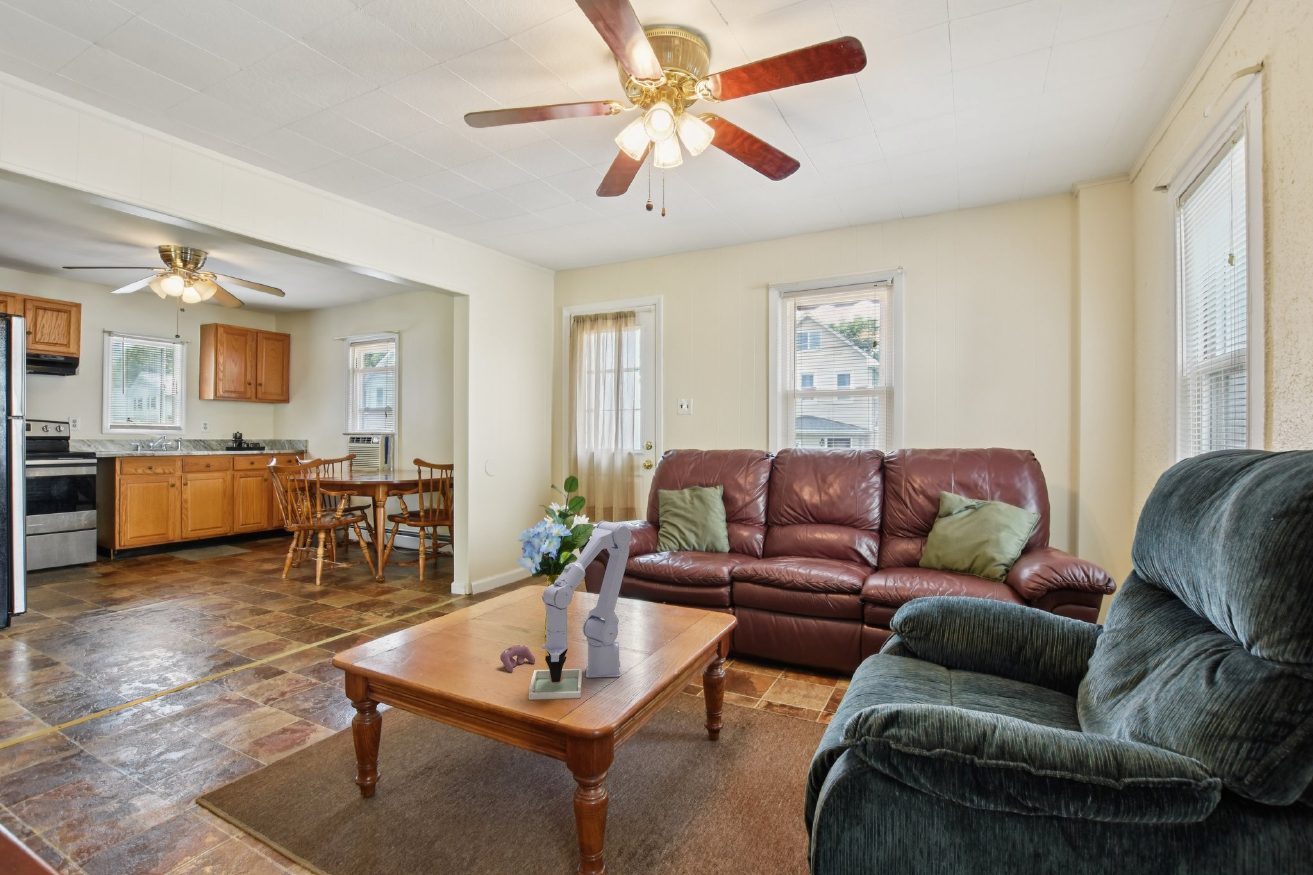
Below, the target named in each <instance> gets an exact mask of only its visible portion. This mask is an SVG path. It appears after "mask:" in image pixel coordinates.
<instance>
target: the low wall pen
mask: <svg viewBox="0 0 1313 875" xmlns="http://www.w3.org/2000/svg"><path fill="white" fill-rule="evenodd" d="M562 671H563V673H564V678H578V685H577V691H567V692H537V693H534V692H535V688H536V684H537V680H538V679H549V674H550V670H549V669H536V670H535V669H534V670H533V673H532V677H531V680H530V683H529V688H528V700H530V701H531V700H532V701H533V700H535V701H536V700H559V699H561V700H562V699H581V698H582V696H581V695H582V681H583V680H582V679H583V668H566V669H565V668H564V669H563V668H562Z"/></svg>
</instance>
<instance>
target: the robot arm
mask: <svg viewBox="0 0 1313 875" xmlns="http://www.w3.org/2000/svg"><path fill="white" fill-rule="evenodd" d="M591 532H592V533H591V537H590V539H589V541H588V542H587V544H586V545H585V546H584V548H583V550H582V551H581V552H580V554H579V556H578V558H577V559H576V560H575V561H573V562H569V563H568V564H566V565H565V566H564V567H563V568H564V569H563V570H562V572H561V573H560V575H559V576H558V577H557V579H555V580H554V582H553V583H551V585H548V586H547V587H546V588H545V589H544V591H543V594H542V595H541V599H542V602H543V603H544V605H545V611H546V614H545V615H546V617H545V619H546V623H545V624H546V625H545V626H546V627H545V629H546V631H545V633H546V636H545V638H546V640H545V641H546V642H545V643H544V644H543V643H542V645H541V649H542V650H546V652H547V654H548V655H545V658H544V659H545V663H546V664H547V666H548V670H550V675H551V680H552V682H560V679H561V673H562V669H563V667H564V664H565V663H566V660H567V656H566V655H567V652H568V648H569V644H568V606H569V605H571V603H572V601H573V597H574V596H573V595H574V594H575V593H574V592H575V590H576V588H578V586H579V584H580V583H581V582H582V581H583V580H584V578H585V577H586V569H587V567H588V566H589V565H590V564H591V563H592V562H593V560H594V559H595V558H596V557H597V556H598V555H599V553H600V552H602V550H605V549H606V550H607V552H608V554H609V558H608V561H607V565H606V568H605V573H604V577H603V580H602V584H601V587H600V590H599V595H598V599H597V603H596V606H595V607H593V608H592V609H591V610H590V611H589V612H588V615H587V618H586V619H585V620H584V623H583V625H582V633H583V635H584V637H586V641H587V665H586V668H585V669H586V673H585V677H586V679H587V678H615V677H616V678H618V677H620V668H621V661H620V642H619V641H616V640H617V638H618V635H619V627H618V626H619V621H620V620H619V617H618V616H617V614H616V612H615V610H616V605H617V602H618V598H619V593H620V591H621V586H622V583H623V579H624V574H625V571H626V566H627V562H628V558H629V555H630V543H631V538H632V536H633V534H632V532H631V529H630V528H629V526H628V525H627V524H625V523H618V522H611V521H606V520H601V521H599V522H598V523H597V524H596V526H595V528H593V529H592V531H591Z"/></svg>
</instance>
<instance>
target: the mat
mask: <svg viewBox="0 0 1313 875" xmlns="http://www.w3.org/2000/svg"><path fill="white" fill-rule="evenodd" d="M567 691H578V678H563V680H562V682H560V683H559V684H554V683H552V682H551V681H550V679H538V680H536V684H535V688H534V692H533V693H537V692H567Z"/></svg>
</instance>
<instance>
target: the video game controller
mask: <svg viewBox="0 0 1313 875" xmlns="http://www.w3.org/2000/svg"><path fill="white" fill-rule="evenodd" d="M499 657H500V658H499V659H500V662H501V663H502V664H503V666H504V668H505V669H506V671H508V672H509V673H512V672H513V671H514V667H516V665H523V664H524V662H525V659H526V660H527V661H528V662H529V663H530V664H531V665H534V664H535V663H536V658H535V656H534V655H533V653H532V651H531V650H530V648H529V647H528V646H526V645H525V644H517V645H512V646H510V647H508V648H506V649H505V650H504V651H503V652H502V653H501V654H500V656H499ZM514 657H516V659H515V658H514Z"/></svg>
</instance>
